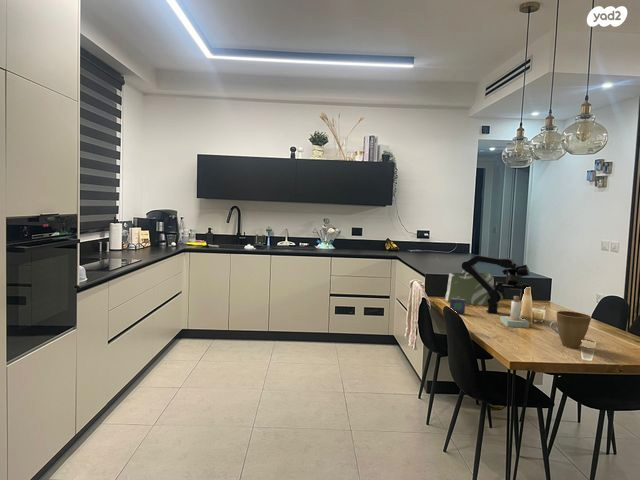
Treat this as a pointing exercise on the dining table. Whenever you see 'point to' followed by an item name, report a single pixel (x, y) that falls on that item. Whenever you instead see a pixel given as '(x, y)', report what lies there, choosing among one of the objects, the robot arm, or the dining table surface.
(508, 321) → the stacking base
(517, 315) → the cosmetic bottle
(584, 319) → the plant pot
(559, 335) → the teacup
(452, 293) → the grocery bag
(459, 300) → the flask
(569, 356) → the dining table surface
